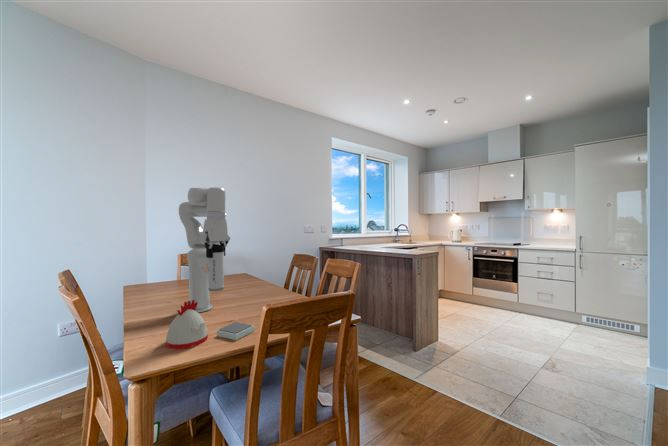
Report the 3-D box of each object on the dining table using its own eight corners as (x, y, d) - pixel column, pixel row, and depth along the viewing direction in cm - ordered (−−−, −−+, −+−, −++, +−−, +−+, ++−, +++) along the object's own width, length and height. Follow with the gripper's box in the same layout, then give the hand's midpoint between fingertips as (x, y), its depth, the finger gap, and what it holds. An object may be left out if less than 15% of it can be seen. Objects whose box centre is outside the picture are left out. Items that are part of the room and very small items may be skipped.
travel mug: (217, 287, 126) (217, 243, 126) (226, 289, 123) (227, 244, 123) (204, 290, 121) (205, 244, 121) (214, 292, 118) (214, 245, 118)
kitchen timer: (215, 337, 108) (215, 298, 109) (184, 351, 96) (184, 308, 96) (190, 331, 114) (190, 295, 114) (157, 345, 101) (157, 304, 101)
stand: (216, 336, 109) (216, 329, 109) (235, 327, 118) (235, 321, 118) (236, 340, 105) (236, 333, 105) (254, 331, 114) (253, 325, 114)
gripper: (224, 216, 131) (224, 254, 131) (192, 215, 116) (192, 258, 116) (237, 216, 128) (236, 255, 128) (205, 215, 112) (205, 259, 113)
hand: (216, 256), depth 122 cm, fingers closed on travel mug, 6 cm apart
